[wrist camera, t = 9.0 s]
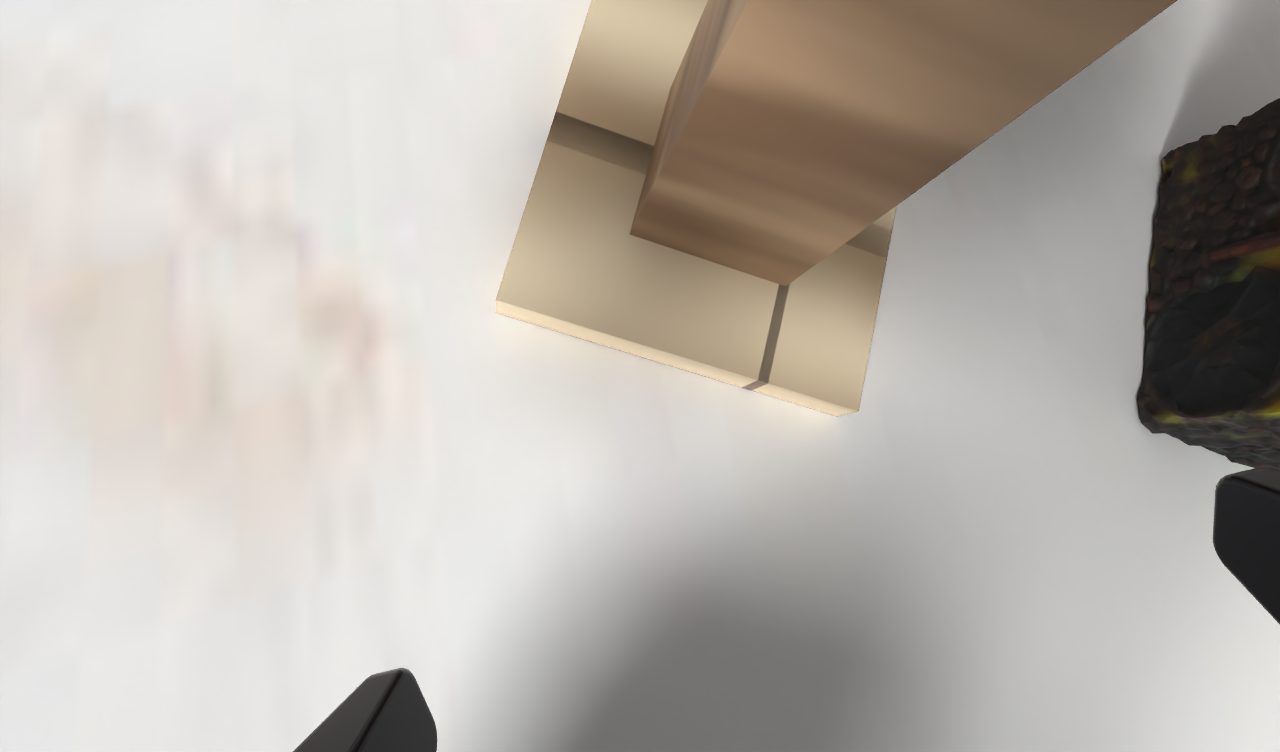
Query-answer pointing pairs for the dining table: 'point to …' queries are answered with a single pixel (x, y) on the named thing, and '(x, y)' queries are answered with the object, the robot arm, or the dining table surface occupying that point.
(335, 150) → the dining table surface
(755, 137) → the tall wooden pillar
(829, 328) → the board
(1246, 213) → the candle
